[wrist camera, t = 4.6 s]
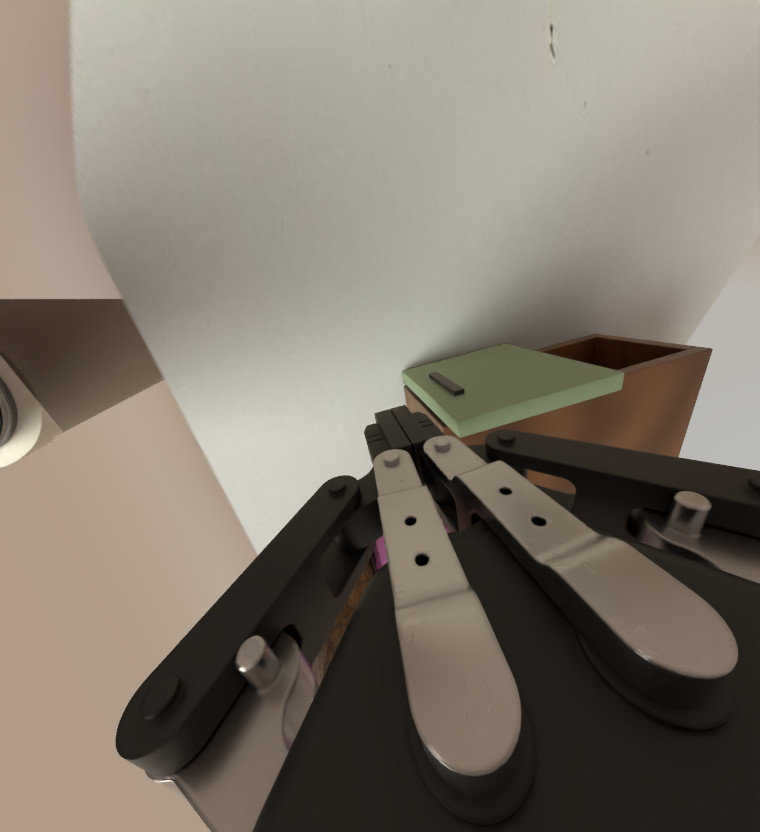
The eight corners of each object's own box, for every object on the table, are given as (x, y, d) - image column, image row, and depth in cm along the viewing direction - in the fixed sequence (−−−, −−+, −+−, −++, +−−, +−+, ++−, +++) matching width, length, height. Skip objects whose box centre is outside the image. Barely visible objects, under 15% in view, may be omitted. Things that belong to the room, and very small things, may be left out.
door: (403, 382, 22) (459, 438, 13) (400, 367, 21) (457, 414, 13) (505, 354, 23) (622, 390, 14) (505, 339, 22) (626, 366, 13)
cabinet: (418, 472, 26) (456, 538, 19) (403, 385, 22) (442, 427, 15) (584, 422, 28) (676, 464, 21) (596, 333, 24) (713, 348, 17)
